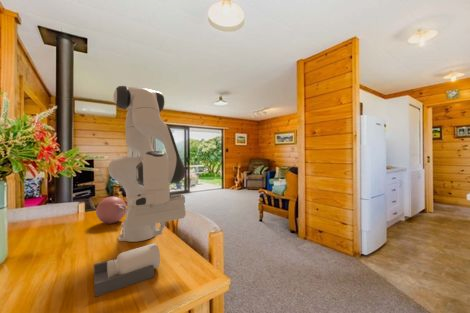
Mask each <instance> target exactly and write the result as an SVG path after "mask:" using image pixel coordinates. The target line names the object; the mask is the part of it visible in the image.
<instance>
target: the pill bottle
mask: <svg viewBox="0 0 470 313" xmlns="http://www.w3.org/2000/svg"><path fill="white" fill-rule="evenodd" d="M115 259H116V260H115ZM106 261H107V273H108V278H111V277H114V276H118V275H121V274H126V273H129V272H132V271H135V270H138V269H141V268H144V267H147V266H151V265H153V266H154V269H156V268H159V267H160V265H161V253H160V249H159V246H158V244H157V243H151V244H147V245H143V246H140V247H136V248H132V249H130V250H127V251H123V252H120V253H119V254H118V255H117V257H116V258H114V260H113V259H110V260H106Z"/></svg>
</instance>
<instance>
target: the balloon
mask: <svg viewBox="0 0 470 313" xmlns="http://www.w3.org/2000/svg"><path fill="white" fill-rule="evenodd" d="M126 209H127V203H126V202H125V200H124V199H123V198H120V197H118V196H108V197H105V198H103V199H102V200H100V202H98V204H97V206H96V209H95V211H96V212H95V214H96V217H97V218H98V219H99V221H101V222H102V223H105V224H115V223H118V222H119V221H121V220H122V219H123V217H125V216H126Z"/></svg>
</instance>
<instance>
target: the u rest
mask: <svg viewBox="0 0 470 313" xmlns="http://www.w3.org/2000/svg"><path fill="white" fill-rule="evenodd" d="M114 259H115V260H116V259H117V258H114ZM114 259H112V260H114ZM107 261H108V260H106V261H101V262H98V263H94V264H93V275H94V276H93V277H94V284H93V285H94V297H98V296H102V295H105V294H107V293H111V292H113V291H114V292H115V291H117V290H120V289H122V288H125V287H129V286H131V285H135V284H137V283H140V282H143V281H146V280H150V279H152V278H154V277H155V268H154V266H153V265H151V266H147V267H144V268H141V269H138V270H135V271H132V272H129V273H126V274H121V275H118V276H114V277H111V278H108V273H107Z"/></svg>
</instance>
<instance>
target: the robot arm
mask: <svg viewBox="0 0 470 313" xmlns="http://www.w3.org/2000/svg"><path fill="white" fill-rule="evenodd" d="M113 101H114V103H115V106H116V108H117V107H118V108H119V109H120V110H121V109H122V110H127V112H126V118H125V126H124V127H125V130H124V131H125V144H126V146H127V147H128V148H129V149H130V150H133V151H135V152H137V153H138V154H139V155H140V156H123V157H121V156H120V157H117V158H113V159H112V160H111V161H110V162H109V164H108V166H107V167H108V169H107V170H108V174H109V176H110V177H111V178H112V179H113V180H114V181H116V182H118V183H119V185H121V186H122V187H123V190H124V192H125V195H126V196H125V197H126V213H125V220H124V221H123V222H121V223H120V228H121V229H120V233H119V237H118V241H119V242H128V243H129V242H132V243H135V242H142V241H146V240H149V239H152V238H154V237H156V236H160V235H163V230H164V228H165V227H166V222H170V221H176V220H180V219H184V218H185V217H186V214H187V213H186V207H185V203H186V197H185V195H184V194H181V193H176V194H170V193H171V192H170V190H171V189H170V187H171V186H170V184H173V185H175V184H179V183H181V181H183V179H184V178H185V176H186V169H185V165H184V162H183V160H182V159H181V155H180V154H179V153H180V152H179V150H178V147H177V143H176V141H175V136H174V135H173V133H172V130H171V128H170V126H169V125H168V124H166V123H165V122H164V120H163V119H162V117H161V112H162V111H163V109H164V106H165V97H164V95H163V93H162V92H160V91H157V90H152V89H149V88H143V87H135V86H126V85H119V86H117V87H116V88H115V90H114V92H113ZM151 138H154V139H156V140H158V141H160V142H161V143H162V144H163V146H164V149H165V152H164V151H159V150H158V151H157V150H154V148H153V145H152V141H151ZM158 224H160V226H159V228H158Z"/></svg>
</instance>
